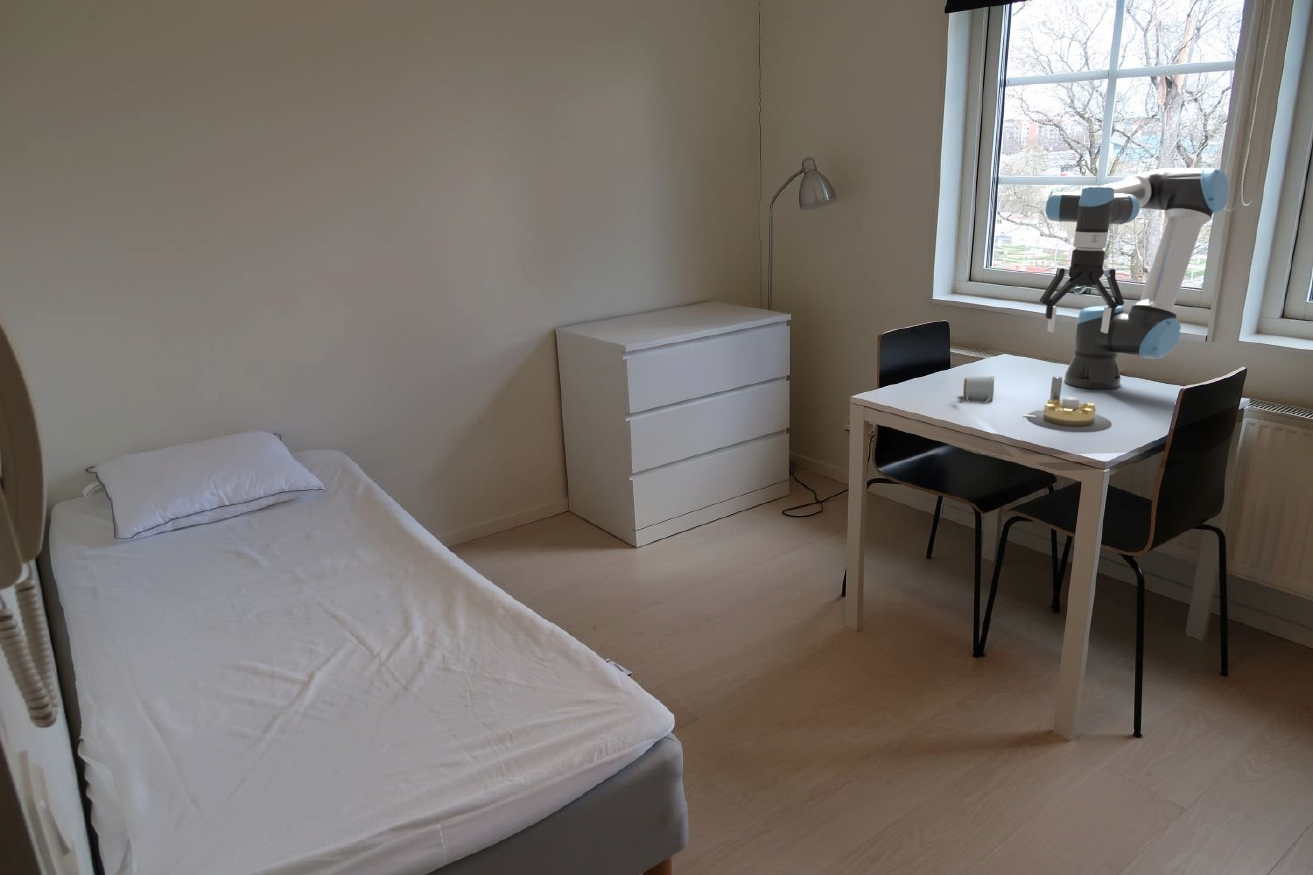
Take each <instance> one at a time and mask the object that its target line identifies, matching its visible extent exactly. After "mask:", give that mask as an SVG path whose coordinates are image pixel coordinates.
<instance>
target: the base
mask: <svg viewBox="0 0 1313 875" xmlns="http://www.w3.org/2000/svg"><path fill="white" fill-rule="evenodd" d="M1061 401H1062V406H1061V407H1062V408H1067V409H1073V410H1076V409H1078V408H1079V403H1080V401H1081V400H1080V399H1079V398H1078V397H1071V396H1067V397H1063V398H1062V399H1061ZM1043 414H1044V409H1040V410H1035V411H1032V412H1029V413H1027V414H1023V416H1022V417H1024V418H1026V419H1027V421H1028V422H1030V423H1031V424H1033V425H1036V426H1038V427H1040V428H1043V429H1044V428H1046V429H1049V430H1054V431H1058V432H1059V431H1060V432H1069V433H1095V432H1102V431H1105V430H1106V431H1107V430H1109V429H1110V428H1111V427H1112V425H1113V423H1112V421H1110V419H1108V418H1107V417H1104V416H1102V415H1099V414H1096V413H1095V421H1094V423H1093V424H1092V425H1088V426H1063V425H1057V424H1053V423H1050V422H1048V421H1046V420H1044V419H1043Z"/></svg>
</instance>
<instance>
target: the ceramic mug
mask: <svg viewBox="0 0 1313 875" xmlns="http://www.w3.org/2000/svg"><path fill="white" fill-rule="evenodd" d="M994 389H995V376H993V375H991V376H967V377H965V378H964V379H963V389H962V394H963V396H962V397H963V399H964V400H966V402H968V403H971V401H970V400H976V401H977V400H978V401H979V400H980V401H984V402H982V404H988V403H989V402H991V401H993V400H994V394H995V391H994Z"/></svg>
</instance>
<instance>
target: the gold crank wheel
mask: <svg viewBox="0 0 1313 875" xmlns="http://www.w3.org/2000/svg"><path fill="white" fill-rule="evenodd" d="M1051 378H1052V379H1051V380H1052V381H1051V385H1050V386H1051V388H1050V396H1049V398H1048V399H1047V403H1045V404H1044V407H1043V410H1044V414H1043V419H1044V420H1046V421H1048V422H1050V423H1053V424H1057V425H1063V426H1088V425H1092V424H1093V423H1094V421H1095V414H1096V413H1097V410H1096V404H1095V403H1093V402H1084V403H1080V402H1079V408H1078V409H1076V410H1073V409H1067V408H1062V407H1061V406H1062V399H1061V392H1062V384H1063V377H1062V376H1052V377H1051Z"/></svg>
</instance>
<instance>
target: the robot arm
mask: <svg viewBox="0 0 1313 875" xmlns="http://www.w3.org/2000/svg"><path fill="white" fill-rule="evenodd" d="M1228 198H1229V181H1228V177H1227V175H1226V173H1225V171H1223V170H1221V168H1213V167H1211V168H1210V167H1176V168H1175V167H1165V168H1158V169H1153V170H1150V171H1145V172H1141V173H1137V174H1132V175H1129V176H1127V177H1126V178H1125V179H1123V180H1122V181H1118V182H1113V183H1108V184H1104V185H1100V186H1099V185H1085V186H1084V187H1083V188H1082V189H1081V190H1080V191H1079V190H1077V191H1073V192H1064V191H1061V192H1055V193H1053V194H1051V195H1050V196H1049V198H1048V199H1047V201H1046V203H1045V215H1046V217H1047V219H1048V220H1050V221H1054V222H1059V223H1062V222H1064V223H1065V222H1066V223H1076V227H1075V232H1074V238H1073V239H1074V240H1073V246H1072V247H1073V248H1075V249H1073V250H1072V254H1071V259H1070V260H1071V261H1070V265H1069V266H1070V267H1069V268H1064V267H1058V268H1056V271H1055V276H1054V277H1053V279H1052V280H1051V281H1050V284H1049V285H1048V286H1047V287H1046V289H1045V291H1044V293H1043V294H1042V296H1041V297H1040V299H1039V303H1041V304H1043V305H1045V306H1046V308H1045V319H1047V321H1048V322H1047V329H1046V331H1048V332H1050V333H1054V332H1055V326H1056V325H1055V324H1056V317H1057V316H1056V315H1057V310H1058V309H1057V308H1058V307H1057V306H1055V305H1056V304H1057V303H1058V302H1060V300H1062V298H1063V297H1064V296H1066V294H1067V293H1068V292H1070V291H1071V289H1073V288H1075V287H1076V286H1078V287H1084V286H1086V287H1094V288H1095V289H1096V291H1097V292H1098V293H1099V295H1100V296H1101V298H1102V299H1103V301H1104V302H1105V304H1106V305H1096V306H1089V307H1085V308H1083V309H1081V310H1080V312H1079V313H1078V318H1077V322H1076V333H1075V342H1074V343H1075V344H1074V350H1073V351H1074V352H1073V356H1072V359H1071V361H1070V362H1069V365H1068V367H1067V369H1066V372H1065V373H1064V383H1065V384H1068V385H1069V386H1074V387H1078V388H1083V389H1090V390H1091V389H1092V390H1093V389H1095V390H1108V389H1115V388H1118V387H1120V385H1121V380H1122V377H1121V373H1120V368H1119V364H1118V354H1121V355H1122V354H1124V355H1130V356H1135V357H1141V358H1143V359H1154V360H1155V359H1162V358H1164V357H1166V356H1167V355H1168V354H1169V353H1171V352H1172V351H1173V349H1174V348H1175V346H1176V345H1177V343H1178V340H1179V338H1180V335H1181V323H1180V321H1179V320H1178V319H1177V316H1178V314H1177V312H1176V310H1175V309H1174V307H1175V304H1176V302H1177V299H1178V295H1179V293H1180V289H1181V287H1182V284H1183V281H1184V278H1185V276H1186V273H1187V271H1188V270H1187V269H1188V267H1189V264H1190V261H1191V259H1192V258H1191V257H1192V255H1193V252H1194V249H1195V247H1196V243H1197V241H1198V239H1199V235H1200V232H1201V231H1202V230H1201V229H1202V226H1204V225H1205V224H1207V223H1209V222H1210V221H1211V219H1212V217H1213V214H1215V213H1219V212H1221V211H1223V209H1224V208H1225V207H1226V205H1227V202H1228ZM1140 209H1146V210H1157V211H1164V216H1165V217H1166V219H1167V222H1166V225H1165V227H1164V230H1163V233H1162V236H1161V239H1160V242H1159V244H1158V248H1157V251H1156V254H1155V255H1154V256H1155V257H1154V259H1153V262H1152V265H1151V268H1150V271H1149V273H1148V274H1149V275H1148V276H1147V280H1146V283H1145V285H1144V289H1143V290H1142V291H1143V292H1142V294H1141V297H1140V300H1139V301H1138V302H1136V303H1134V304H1132V305H1131V308H1130V311H1129V312H1125V308H1124V304H1125V301H1124V298H1123V295H1122V292H1121V291H1120V287H1119V285H1118V282H1117V277H1116V273H1117V272H1116V269H1114V268H1111V267H1108V268H1107V269H1104V263H1105V256H1106V251H1105V250H1103V249H1105V248H1106V247H1107V241H1108V236H1109V228H1110V225H1123V224H1128V223H1131V222H1133V220H1134V219H1135V218H1136V217H1137V216H1138V215H1139V212H1140ZM1067 275H1068V276H1069V279H1068V280H1067V281H1066V282H1064V283H1065V284H1063V285H1062V286H1061V287H1060V288H1059V286H1060V284H1061V282H1062V281H1063V279H1064V278H1065V277H1066V276H1067ZM1103 275H1104V277H1105V278H1106V281H1107V283H1108V286H1109V289H1110V291H1111V294H1112V296H1111V294H1109V292H1108V290H1107V289H1106V288H1105V285H1104V284H1103V283H1102V282H1101V280H1100V279H1101V277H1102V276H1103ZM1057 288H1059V289H1058V290H1057ZM1056 290H1057V291H1056Z"/></svg>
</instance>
